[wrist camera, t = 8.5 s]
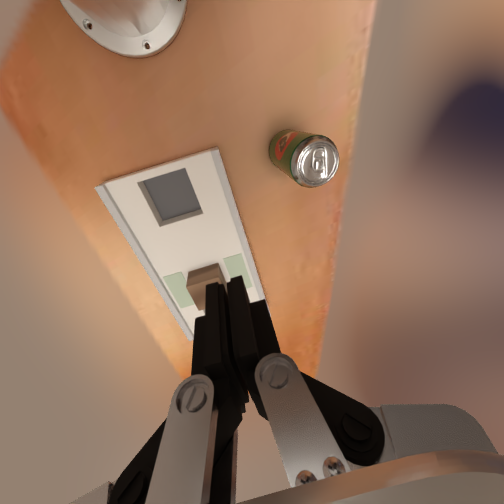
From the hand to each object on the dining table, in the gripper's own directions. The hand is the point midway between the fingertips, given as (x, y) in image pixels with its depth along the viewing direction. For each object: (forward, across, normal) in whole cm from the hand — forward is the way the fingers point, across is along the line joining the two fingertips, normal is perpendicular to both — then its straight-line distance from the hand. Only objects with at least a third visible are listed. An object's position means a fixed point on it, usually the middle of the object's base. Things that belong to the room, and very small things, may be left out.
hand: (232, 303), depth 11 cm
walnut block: (+24, +6, +16) cm, 29 cm away
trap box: (+26, +6, +12) cm, 30 cm away
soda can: (+27, -10, 0) cm, 29 cm away
